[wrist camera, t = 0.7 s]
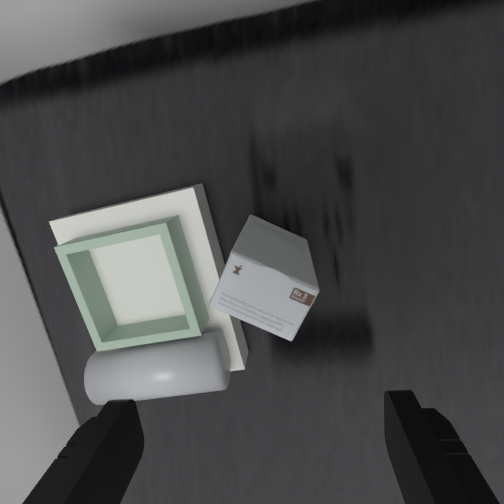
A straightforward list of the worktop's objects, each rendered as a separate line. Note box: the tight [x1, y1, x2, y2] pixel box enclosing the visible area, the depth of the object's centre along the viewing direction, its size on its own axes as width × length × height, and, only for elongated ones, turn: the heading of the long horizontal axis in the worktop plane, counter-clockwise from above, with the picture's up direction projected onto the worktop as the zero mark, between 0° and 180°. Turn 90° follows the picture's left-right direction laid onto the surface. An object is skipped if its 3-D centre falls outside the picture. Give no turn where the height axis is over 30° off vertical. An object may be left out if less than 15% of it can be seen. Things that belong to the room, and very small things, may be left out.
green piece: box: [54, 215, 210, 352], centre depth 31 cm, size 10×10×3 cm
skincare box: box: [209, 215, 319, 341], centre depth 27 cm, size 6×4×12 cm
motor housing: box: [49, 184, 249, 405], centre depth 32 cm, size 14×18×8 cm
